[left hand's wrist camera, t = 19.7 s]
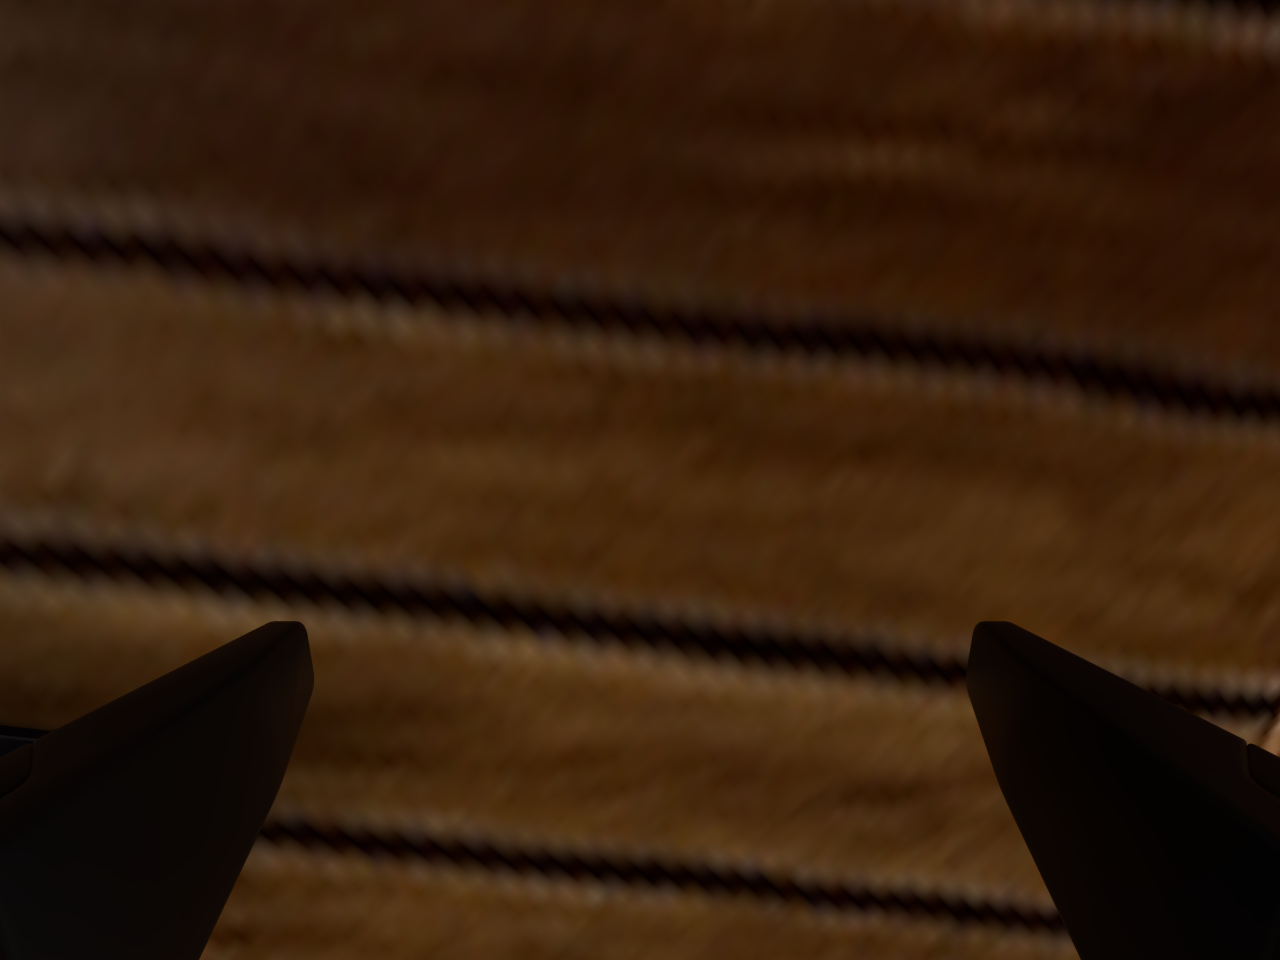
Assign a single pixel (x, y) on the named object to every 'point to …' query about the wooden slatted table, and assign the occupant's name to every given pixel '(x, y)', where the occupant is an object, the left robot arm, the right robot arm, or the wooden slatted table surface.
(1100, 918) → the left robot arm
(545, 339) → the wooden slatted table surface
